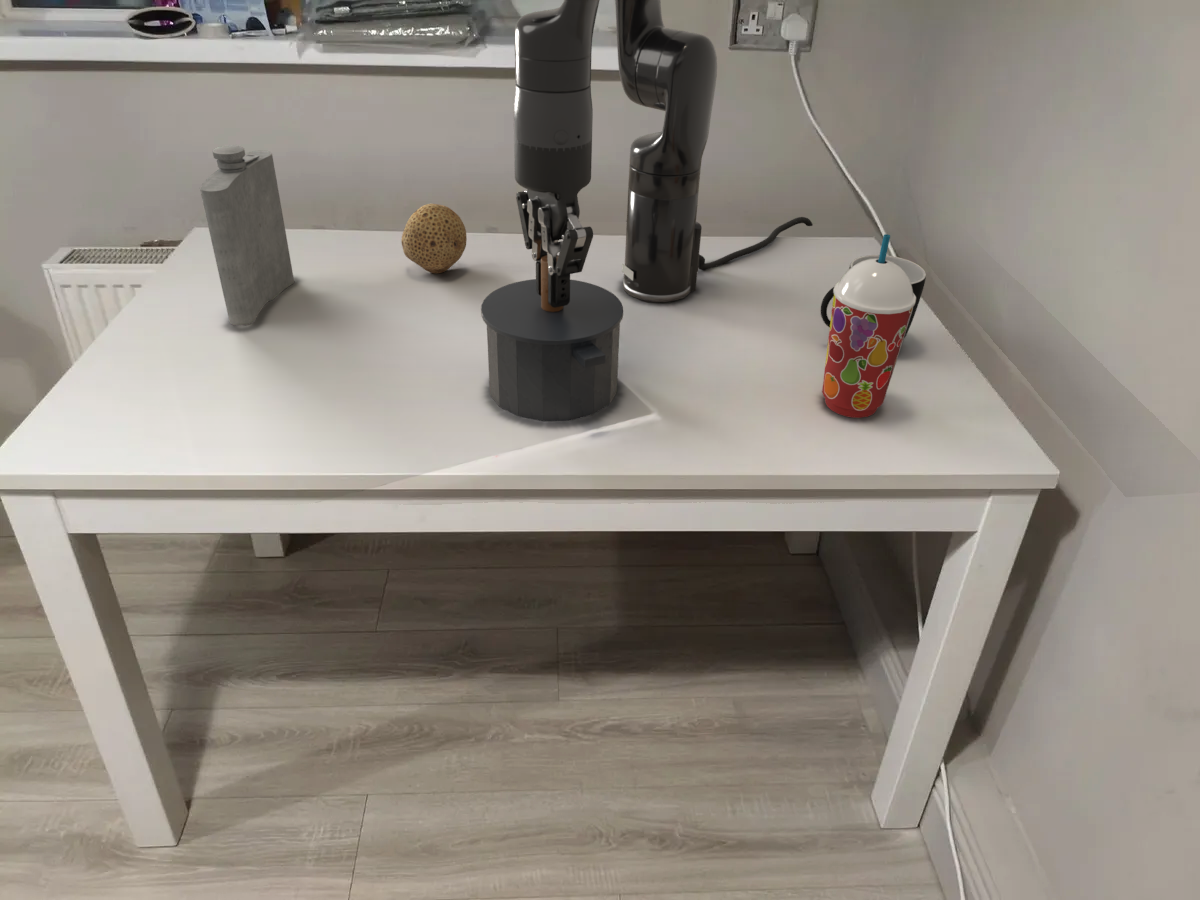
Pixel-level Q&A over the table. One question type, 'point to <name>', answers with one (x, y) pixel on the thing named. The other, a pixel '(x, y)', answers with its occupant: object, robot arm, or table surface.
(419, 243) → the natural sponge
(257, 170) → the hip flask
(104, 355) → the table surface
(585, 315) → the pot lid
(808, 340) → the table surface
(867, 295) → the smoothie
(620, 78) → the robot arm
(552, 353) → the pot
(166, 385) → the table surface
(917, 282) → the mug
